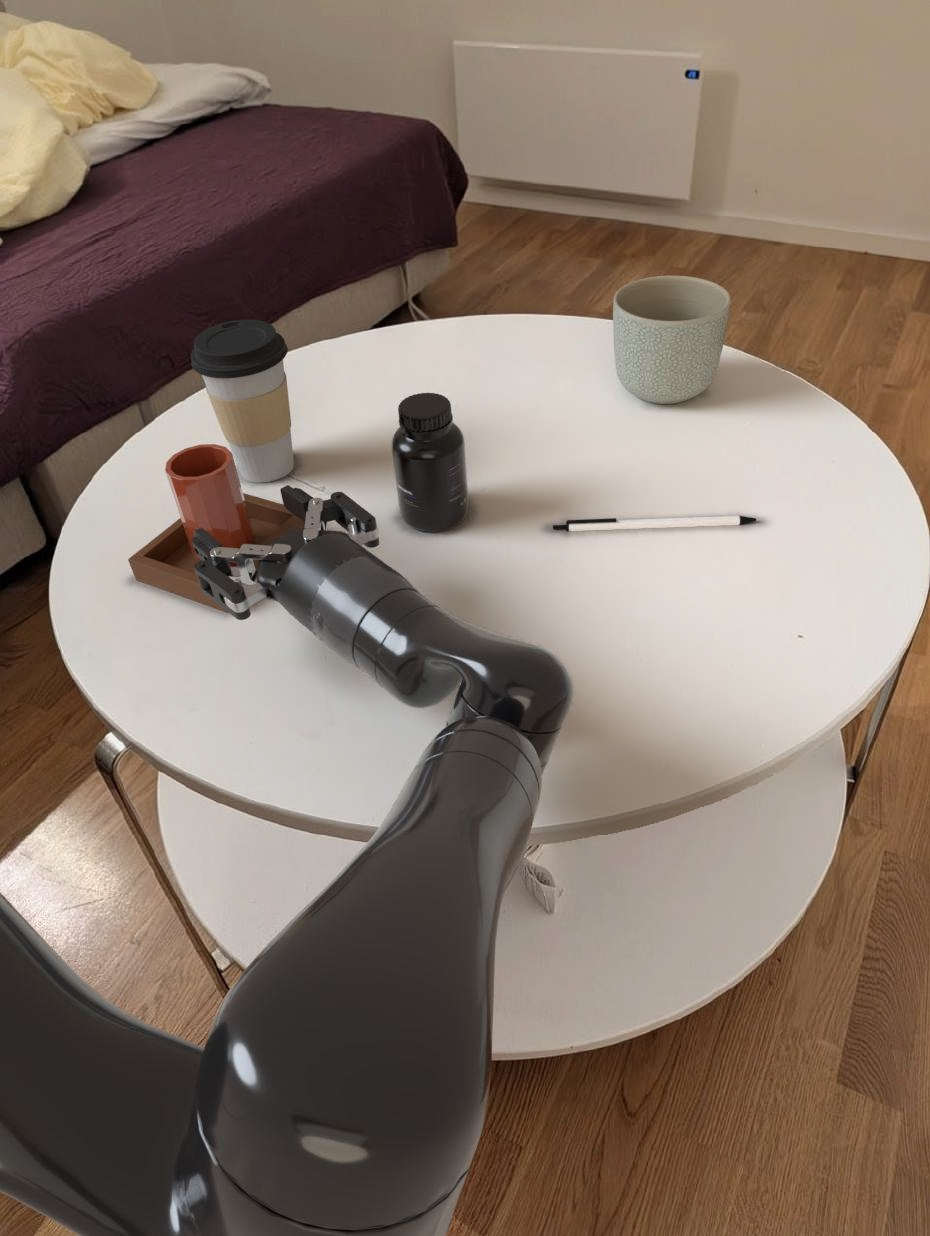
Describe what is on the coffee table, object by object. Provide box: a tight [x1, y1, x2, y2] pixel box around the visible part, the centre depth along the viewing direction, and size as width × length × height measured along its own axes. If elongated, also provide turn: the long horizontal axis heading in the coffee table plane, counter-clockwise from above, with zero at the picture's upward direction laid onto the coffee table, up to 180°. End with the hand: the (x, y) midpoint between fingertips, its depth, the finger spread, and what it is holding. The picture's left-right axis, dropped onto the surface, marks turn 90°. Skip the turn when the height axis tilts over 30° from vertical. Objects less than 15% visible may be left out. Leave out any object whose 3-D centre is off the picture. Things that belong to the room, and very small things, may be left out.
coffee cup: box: [190, 319, 295, 484], centre depth 94 cm, size 9×9×15 cm
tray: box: [127, 492, 305, 613], centre depth 87 cm, size 13×11×2 cm
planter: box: [612, 275, 732, 405], centre depth 102 cm, size 12×12×11 cm
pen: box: [552, 515, 759, 532], centre depth 86 cm, size 1×19×1 cm, turn 88°
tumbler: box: [164, 443, 256, 567], centre depth 84 cm, size 6×6×10 cm
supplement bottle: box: [391, 392, 469, 533], centre depth 87 cm, size 7×7×12 cm
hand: (243, 516), depth 78 cm, fingers open, 8 cm apart
